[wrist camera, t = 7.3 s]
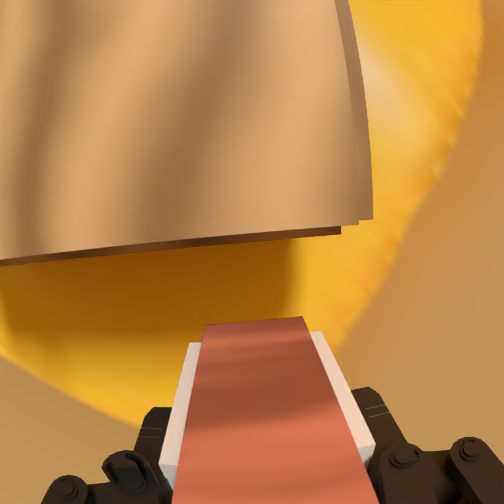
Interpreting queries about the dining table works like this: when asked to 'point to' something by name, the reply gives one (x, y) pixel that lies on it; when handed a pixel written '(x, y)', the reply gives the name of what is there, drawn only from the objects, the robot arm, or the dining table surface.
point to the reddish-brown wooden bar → (266, 423)
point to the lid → (177, 121)
